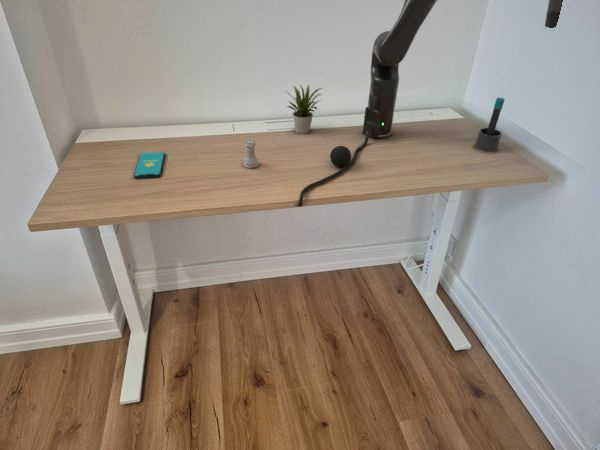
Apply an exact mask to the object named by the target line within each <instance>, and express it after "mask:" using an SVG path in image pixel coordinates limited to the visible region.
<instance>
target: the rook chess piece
mask: <svg viewBox="0 0 600 450" xmlns="http://www.w3.org/2000/svg"><path fill="white" fill-rule="evenodd" d="M244 146H245V151H246V152H245V157H244V159H243V166H244V167H245V168H246V169H255V168H257V167H258V166H259V160H258V158H257V156H256V152H255V150H256V148H255V146H256V142H255V140H254V139H251V138H249V139H245V143H244Z"/></svg>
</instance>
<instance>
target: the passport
mask: <svg viewBox="0 0 600 450" xmlns="http://www.w3.org/2000/svg"><path fill="white" fill-rule="evenodd" d="M164 159H165V152H164V151H160V152H159V151H157V152H142V153H140V154H139V158H138V160H137V165H136V168H135V171H134V174H133V176H134V178H136V179H141V178H143V179H144V178H157V177H160V176H161V173H162V169H163V165H164Z"/></svg>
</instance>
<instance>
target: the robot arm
mask: <svg viewBox="0 0 600 450" xmlns="http://www.w3.org/2000/svg"><path fill="white" fill-rule="evenodd" d="M437 2H438V0H404V2H403V5H402V9H401V11H400V14H399V16H398V18H397V20H396V21H395V23H394V25H393V27H391V29H390V30H386V31H382V32H381V33H380V34H379V35H378V36H377V37H376V38H375V39H374V42H373V45H372V53H371V62H370V63H371V64H370V85H369V92H368V93H369V94H368V101H367V106H366V107H365V110H364V118H363V126H362V127H363V128H362V134H363V135H365V139H364V142H363V143H362V145H361V146H359V147H357V148H356V150H355V151H354V153H353V155H352V156H353V157H352V158H351V160H350V162H349V163H348V164H347V165H346V166H344V167H342V169H339V170H338V171H336V172H335V173H332V174H330V175H328V176H326V177H324V178H321V179H319V180H317V181H314V182H311V183H310V184H308V185H307V186H305V187H304V188H303V189H302V190H301V191H300V195H299V198H298V203H297V207H301V206H302V205H303V201H304V196H305V194H306V193H307V192H308V191H309V190H310V189H311V188H313V187H316V186H318V185H321V184H324V183H325V182H327V181H329V180H331V179H334V178H336V177H337V176H339V175H341V174H343V173H344V172H346V171H347V170H348V169H349V168H350V167H351V166H352V165H353V164H354V163H355V162H356V159H357V156H358V153H359V152H360V151H361V150H363V149H364V148H365V147H366V146H367V144H368V141H369V138H372V139H386V138H389V137H391V136H392V128H393V121H394V116H395V109H396V102H397V97H398V96H397V95H398V91H399V84H400V73H399V68H400V67H399V66H400V63H401V62H402V61H404V59H405V57H406V55H407V53H408V52H409V49H410V48H411V46H412V43H413V41H414V40H415V37H416V36H417V33H418V32H419V30H420V28H421V27H422V25H423V24H424V22H425V20H426V19H427V17H428V16H429V14H430V13H431V11H432V9H433V8H434V6H435V4H436V3H437ZM562 2H563V0H548V3H547V10H546V15H545V22H544V27H545V28H548V27H549V28H554V27H556V25H557V22H558V19H559V15H560V11H561V7H562Z"/></svg>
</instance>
